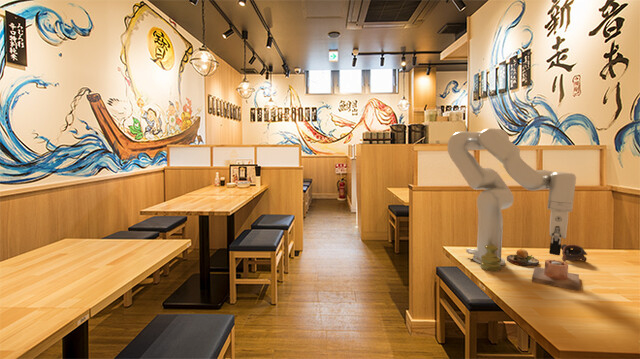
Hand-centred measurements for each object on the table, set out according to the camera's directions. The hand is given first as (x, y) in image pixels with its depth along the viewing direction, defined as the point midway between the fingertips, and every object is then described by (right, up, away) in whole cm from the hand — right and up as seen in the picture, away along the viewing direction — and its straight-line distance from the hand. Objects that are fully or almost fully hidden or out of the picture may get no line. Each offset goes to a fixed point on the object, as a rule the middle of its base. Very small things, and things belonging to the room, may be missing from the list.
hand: (554, 251), depth 125 cm
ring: (0, -9, 0) cm, 9 cm away
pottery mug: (+23, -9, +22) cm, 34 cm away
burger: (0, -10, +20) cm, 22 cm away
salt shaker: (-18, -10, +12) cm, 24 cm away
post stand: (0, -11, 0) cm, 11 cm away
